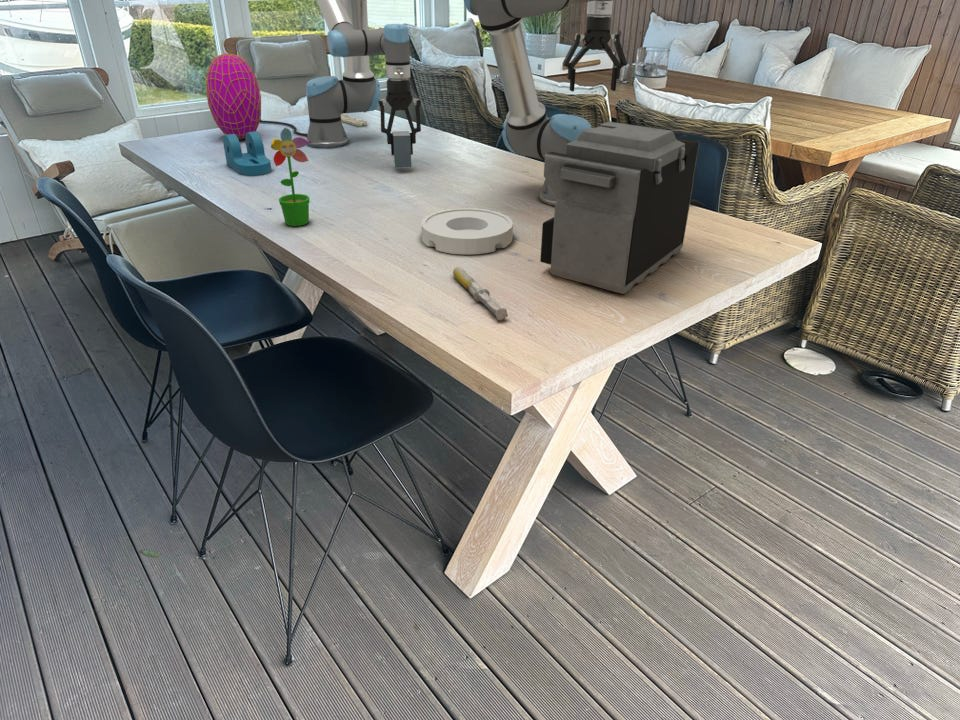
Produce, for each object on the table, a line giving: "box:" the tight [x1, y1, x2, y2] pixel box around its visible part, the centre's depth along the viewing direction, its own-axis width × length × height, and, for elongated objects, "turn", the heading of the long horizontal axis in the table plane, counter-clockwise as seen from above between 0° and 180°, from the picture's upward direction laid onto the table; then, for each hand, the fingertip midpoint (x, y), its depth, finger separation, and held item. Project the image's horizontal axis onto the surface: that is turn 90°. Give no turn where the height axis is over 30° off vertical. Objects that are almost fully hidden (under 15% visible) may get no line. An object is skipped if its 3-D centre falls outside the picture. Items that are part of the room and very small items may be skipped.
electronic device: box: [539, 121, 701, 295], centre depth 154 cm, size 37×22×30 cm, turn 144°
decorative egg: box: [205, 53, 262, 141], centre depth 258 cm, size 19×19×30 cm
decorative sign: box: [341, 113, 368, 127], centre depth 295 cm, size 26×1×10 cm
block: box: [391, 130, 412, 169], centre depth 226 cm, size 7×6×10 cm
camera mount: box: [222, 130, 272, 176], centre depth 226 cm, size 18×10×10 cm, turn 35°
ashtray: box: [420, 207, 514, 256], centre depth 174 cm, size 23×23×4 cm
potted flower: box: [270, 127, 310, 227], centre depth 177 cm, size 9×8×25 cm
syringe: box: [452, 266, 509, 321], centre depth 145 cm, size 25×4×3 cm, turn 21°
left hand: (402, 153), depth 227 cm, fingers closed on block, 5 cm apart
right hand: (592, 90), depth 218 cm, fingers open, 13 cm apart
